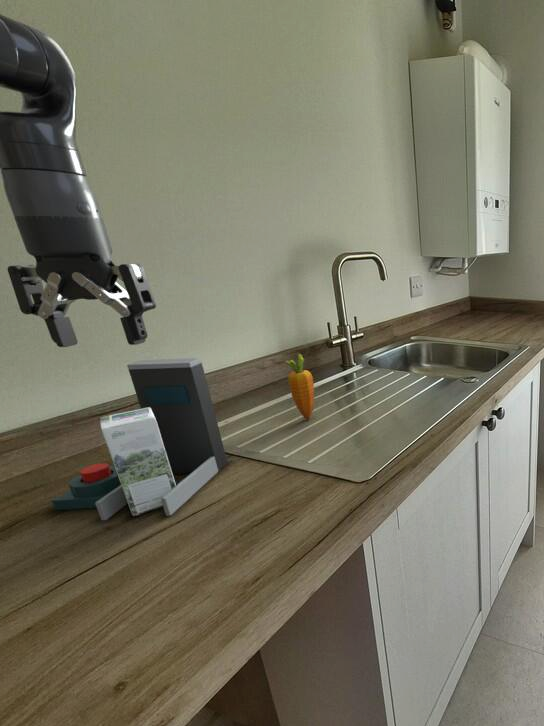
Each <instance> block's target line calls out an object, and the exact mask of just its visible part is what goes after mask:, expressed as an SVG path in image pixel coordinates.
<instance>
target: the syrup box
mask: <svg viewBox="0 0 544 726" xmlns="http://www.w3.org/2000/svg"><path fill="white" fill-rule="evenodd" d="M99 422H100V429H101V434H102V436H103V438H104V441H105V444H106V446H107V449H108V451H109V455H110V457H111V461H112V464H113V466H115V469H116V472H117V474H118V477H119V480H120V483H121V485H122V488H123V491H124V493H125V496H126V499H127V502H128V504H127V505H128V507H129V510H130V513H131V516H132V517H137V516H140V515H143V514H145V513H148V512H151V511H154V510H158V509H160V508H164V507H163V504H162V501H161V498H162V497H163V496H164V495H166V494H167V493H168V492H169V491H170V490H172V489H173V488H174V487H175V486H176V485H177V484H176V481H175V477H174V474H172V471H171V468H170V464H169V461H168V458H167V454H166V451H165V448H164V444H163V441H162V438H161V434H160V431H159V428H158V424H157V421H156V419H155V417H154V414H153V412H152V409H151V408H150V407H147V408H142V409H141V408H139V409H138V408H137V409H134V410H129V411H123V412H119V413H113V414H110V415H105V416H100V420H99Z"/></svg>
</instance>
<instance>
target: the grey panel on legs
mask: <svg viewBox="0 0 544 726" xmlns="http://www.w3.org/2000/svg"><path fill="white" fill-rule="evenodd" d="M126 367H127V370H128V372H129V376H130V379H131V382H132V386H133V388H134V392H135V394H136V397H137V401H138V404H139V407H140V409H142V408H147V407H150V408H151V409H152V412H153V414H154V417H155V419H156V421H157V424H158V428H159V431H160V434H161V438H162V441H163V444H164V448H165V451H166V454H167V458H168V461H169V464H170V468H171V471H172V474H173V475H180V474H181V475H182V474H189V475H187V476H186V477H185V478H183V479H182V480H181V481H180V482H179V483H178V484H176V486H175V487H174V488H173V489H172V490H170V491H169V492H168V493H167V494H166V495H164V496H163V497H162V498H161V501H162V504H163V507H162V508H163V511H164V513H165V516H166V517H169V516H170V517H171V516H172V515H173V514H174V513H176V511H178V509H179V508H181V507H182V506H183V505H184V504H185V503H186V502H187V501H188V500H190V498H192V497H193V496H194V495H195V494H196V493H197V492H198V491H199V490H200V489H202V487H203V486H205V485H206V484H207V483H208V482H209V481H210V480H211V479H213V477H214V476H216V475H217V474H218V473H219V472H220V471H221V470H222V469H223V468H224V467H225V466H226V465H227V464H228V463H229V462H228V459H227V458H228V457H227V454H226V449H225V446H224V443H223V440H222V435H221V432H220V427H219V423H218V419H217V415H216V412H215V408H214V405H213V400H212V397H211V392H210V389H209V386H208V382H207V376H206V373H205V369H204V366H203V362H202V358H201V357H193V358H192V357H190V358H189V357H188V358H187V357H185V358H161V359H155V358H154V359H139V360H137V361H134V362H131V363H129V364H126ZM95 504H96V509H97V512H98V514H99V517H100V520H101V521H107V520H108V519H109V518H111V517H113V516H114V515H115V514H116V513H117V512H119V511H120V510H121V509H123V508H124V507H125V506H127V505H128V502H127V499H126V496H125V493H124V491H123V488H122V485H120V486H119V487H117V488H116V489H114V490H113V491H111V492H110V493H108V494H107V495H106V496H104V497H103V498H101V499H100V500H98V501H97V502H96V503H95Z"/></svg>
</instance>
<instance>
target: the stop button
mask: <svg viewBox="0 0 544 726" xmlns="http://www.w3.org/2000/svg"><path fill="white" fill-rule="evenodd" d="M109 466H110V465H109V464H108V463H107V462H106V463H105V462H103V463H102V462H101V463H96V464H92V465H89V466H86V467H84V468H82V469H81V470H80V471H79V475H81V477H82V480H83V482H84V483H87V482H94V481H98V480H101V479H104V478H106V477H108V476H110V475H111V474H112V473H111V470H110V468H109Z"/></svg>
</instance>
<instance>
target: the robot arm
mask: <svg viewBox="0 0 544 726" xmlns="http://www.w3.org/2000/svg"><path fill="white" fill-rule="evenodd" d="M76 77H77V76H76V73H75V69H74V67H73V65H72V63H71V61H70V59H69V57H68V56H67V54H66V53H65V52H64V50H63V48H61V46H60V44H58V43H57V41H55V40H54V39H53V38H52V37H51V36H49V35H48V34H46V33H45V32H43V31H41V30H39V29H37V28H35V27H34V26H30V25H29V24H25V23H23V22H20V21H18V20H15V19H13V18H10V17H8V16H5V15H4V14H0V88H3V89H6V90H10V91H13V92H17V93H20V94H21V95H20V96H21V99H22V100H21V101H22V102H21V109H20V111H14V110H12V111H11V110H0V174H1V178H2V184H3V189H4V193H5V196H6V199H7V202H8V205H9V207H10V210H11V214H12V215H13V219H14V221H15V224H16V226H17V229H18V231H19V234H20V237H21V239H22V243H23V246H24V248H25V251H26V252H27V254H29V255H30V256H33V258H34V259H35V265H33V264H17V265H9V266H8V267H7V273H8V276H9V279H10V282H11V286H12V288H13V291H14V295H15V297H16V301H17V304H18V307H19V311H21V313H22V314H24V315H33V316H37V317H40V318H41V319H43V320H44V322H45V325H46V328H47V330H48V332H49V336H50V338H51V341H53V342H54V343H55V345H56V346H57V347H58V348H68V347H71V346H76V345H77V344H78V339H77V335H76V332H75V330H74V327H73V324H72V321H71V319H70V317H69V316H66V314H67V313H68V310H69V308H70V306H71V304H73V303H74V302H75V301H77V300H88V301H92V300H93V301H94V300H99V301H100V302H101V303H102V304H104V305H106V306H109V307H111V308H112V309H113V310H114V311H115V312H116V313H118V314H119V315H120V316H121V317H119V319H120V322H121V325H122V328H123V332H124V335H125V338H126V340H127V343H128V345H130V346H137V345H140V344H144V343H145V342H146V339H147V338H148V332H147V328H146V325H145V321H144V318H143V314H144V313H145V312H148V311H151V310H154V309H156V307H157V304H156V300H155V297H154V295H153V292H152V289H151V287H150V283H149V281H148V278H147V275H146V272H145V269H144V267H143V265H141V264H140V263H122V264H119V265H117V264H115V263H114V261H113V259H112V253H113V248H112V245H111V242H110V238H109V236H108V232H107V229H106V225H105V222H104V219H103V217H102V216H103V215H102V213H101V209H100V206H99V203H98V200H97V197H96V194H95V192H94V190H93V188H92V186H91V184H90V182H89V177H87V175H88V174H87V172H86V170H85V165H84V162H83V158H82V156H81V153H80V150H79V147H78V144H77V97H78V96H77V94H78V93H77V92H78V91H77V90H78V86H77V85H78V84H77V78H76ZM118 279H119V280H120V281H121V282H122V283H123V285H124V287H123V286H121V285H120V284H119V283H118V282H117V281H118ZM42 281H43V282H45V283H46V285H45V287H44V284H43V283H42Z"/></svg>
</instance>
